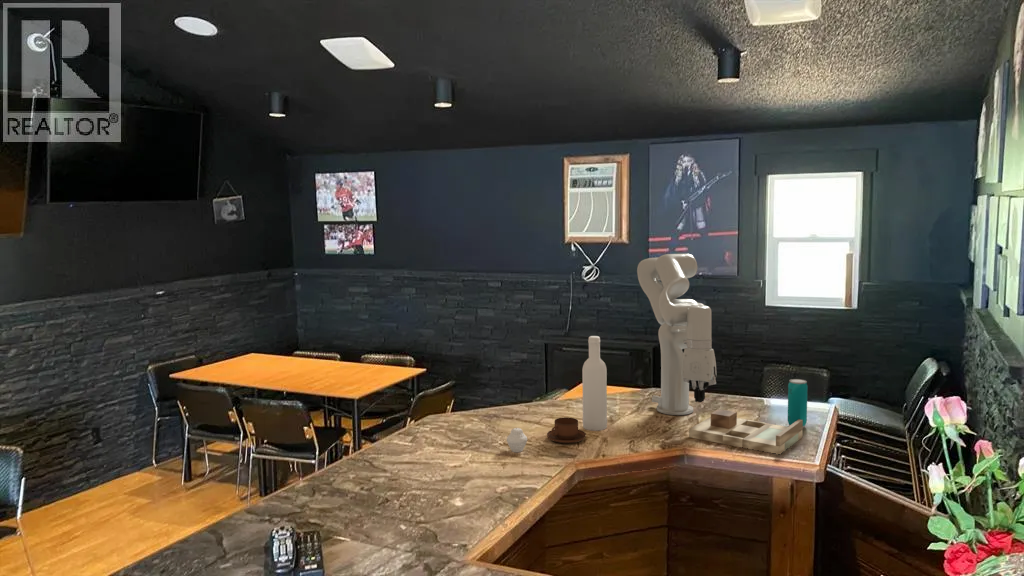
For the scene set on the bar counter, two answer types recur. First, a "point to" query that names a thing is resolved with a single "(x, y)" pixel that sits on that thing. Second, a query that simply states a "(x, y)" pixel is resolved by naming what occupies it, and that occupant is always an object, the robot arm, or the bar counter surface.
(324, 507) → the bar counter surface
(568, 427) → the cup and saucer
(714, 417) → the walnut block
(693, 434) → the trap board
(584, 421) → the bottle
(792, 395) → the beverage can
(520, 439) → the grey lidded jar
